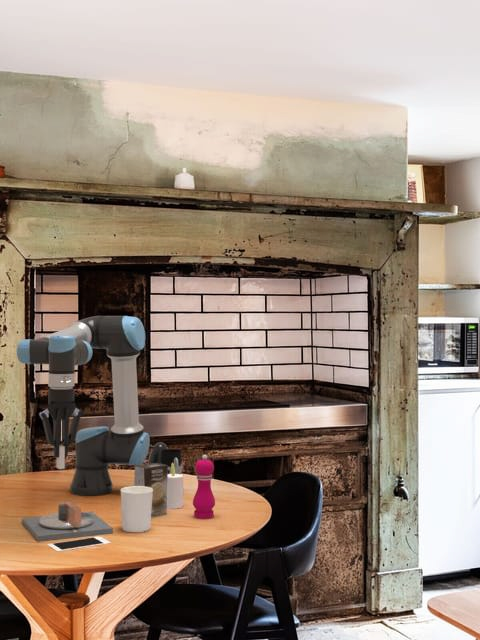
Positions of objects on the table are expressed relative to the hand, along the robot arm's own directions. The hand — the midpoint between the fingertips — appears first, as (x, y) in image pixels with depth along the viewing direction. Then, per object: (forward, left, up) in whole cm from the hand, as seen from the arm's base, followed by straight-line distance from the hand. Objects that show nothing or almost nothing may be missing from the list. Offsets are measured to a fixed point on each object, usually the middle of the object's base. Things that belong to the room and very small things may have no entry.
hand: (60, 468), depth 239 cm
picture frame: (-51, -38, -20) cm, 66 cm away
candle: (-44, -19, -20) cm, 52 cm away
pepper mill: (-48, -3, -20) cm, 52 cm away
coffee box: (-33, -12, -20) cm, 40 cm away
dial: (-4, -5, -18) cm, 19 cm away
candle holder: (-23, +3, -20) cm, 30 cm away
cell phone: (-3, +12, -20) cm, 24 cm away
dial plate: (-4, -6, -20) cm, 21 cm away
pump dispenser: (-54, -59, -20) cm, 82 cm away
